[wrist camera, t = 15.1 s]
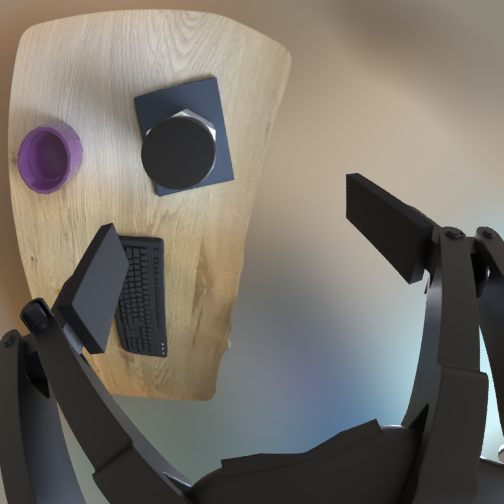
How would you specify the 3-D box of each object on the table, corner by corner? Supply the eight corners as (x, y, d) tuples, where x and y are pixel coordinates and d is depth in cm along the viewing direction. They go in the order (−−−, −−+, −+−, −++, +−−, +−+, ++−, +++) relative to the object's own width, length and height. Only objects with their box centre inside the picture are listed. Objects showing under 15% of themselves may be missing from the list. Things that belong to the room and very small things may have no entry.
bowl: (27, 136, 32) (11, 142, 27) (74, 112, 32) (60, 116, 28) (43, 190, 37) (29, 202, 33) (90, 172, 38) (79, 182, 34)
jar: (157, 109, 35) (139, 114, 25) (214, 108, 36) (219, 113, 26) (157, 168, 39) (141, 195, 29) (211, 167, 41) (214, 194, 31)
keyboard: (103, 235, 44) (100, 241, 42) (164, 238, 46) (162, 244, 44) (122, 348, 58) (121, 355, 57) (167, 351, 61) (167, 358, 59)
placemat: (134, 97, 33) (133, 97, 33) (216, 77, 34) (216, 77, 34) (159, 195, 42) (158, 196, 42) (234, 178, 43) (234, 179, 42)
